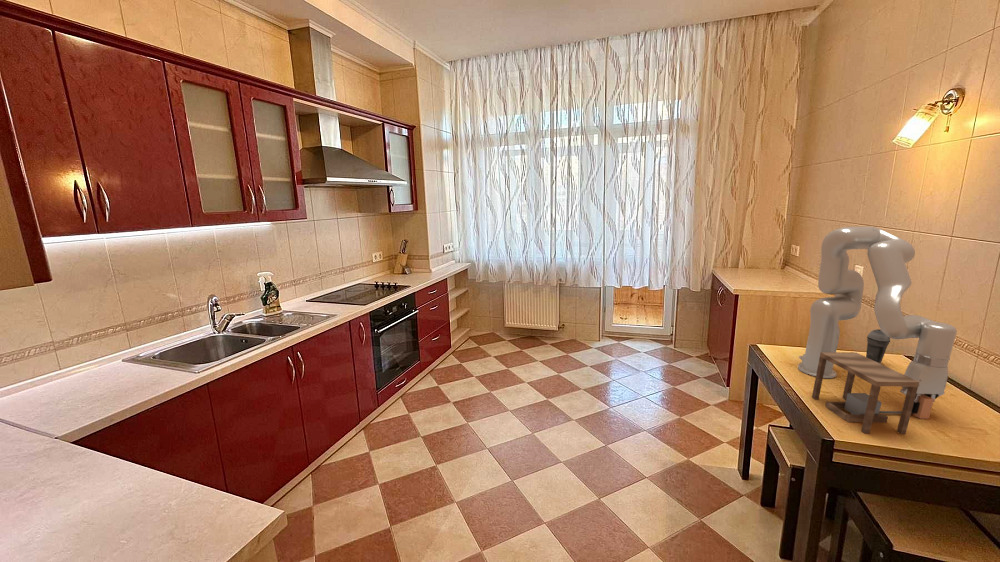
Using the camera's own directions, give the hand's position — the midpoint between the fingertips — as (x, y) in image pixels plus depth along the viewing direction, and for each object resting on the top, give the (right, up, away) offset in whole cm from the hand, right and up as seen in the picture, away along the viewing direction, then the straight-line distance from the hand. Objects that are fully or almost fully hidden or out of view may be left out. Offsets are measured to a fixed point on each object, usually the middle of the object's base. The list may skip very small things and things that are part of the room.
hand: (917, 410), depth 134 cm
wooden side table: (-20, -1, +1) cm, 20 cm away
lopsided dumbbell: (-10, -1, 0) cm, 10 cm away
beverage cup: (+21, +7, +39) cm, 45 cm away
